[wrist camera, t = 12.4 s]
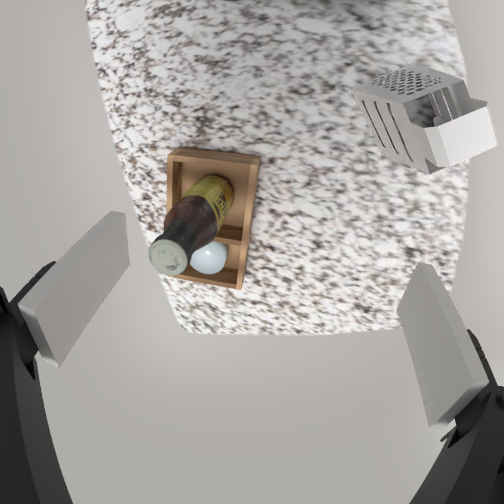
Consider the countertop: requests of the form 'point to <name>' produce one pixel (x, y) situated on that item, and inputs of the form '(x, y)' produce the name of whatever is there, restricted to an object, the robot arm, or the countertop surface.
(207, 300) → the countertop surface
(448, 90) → the grater
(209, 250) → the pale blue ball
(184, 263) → the sauce bottle
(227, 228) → the caddy
